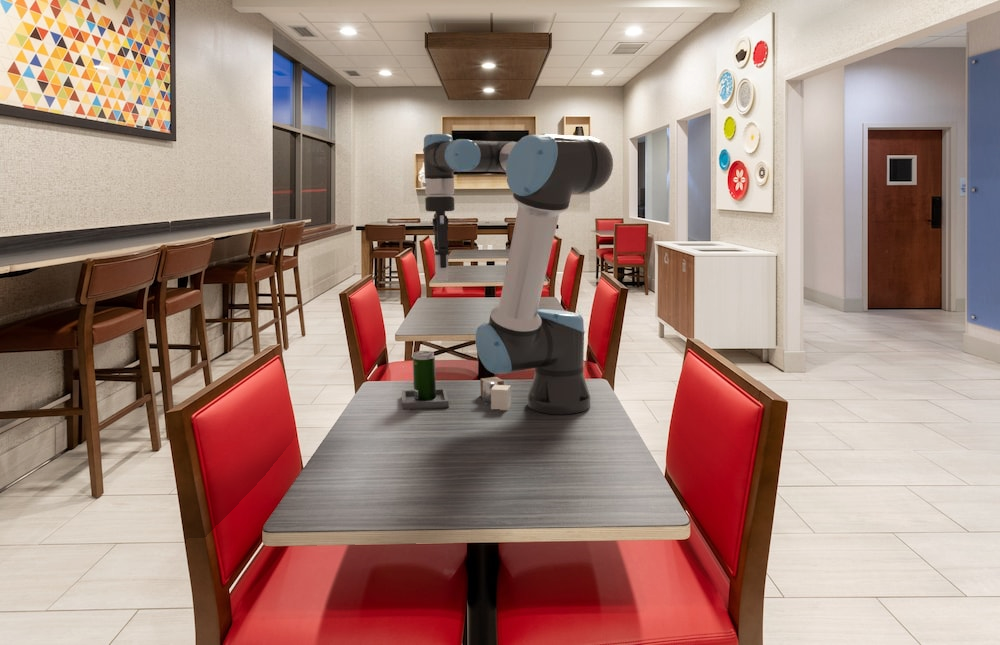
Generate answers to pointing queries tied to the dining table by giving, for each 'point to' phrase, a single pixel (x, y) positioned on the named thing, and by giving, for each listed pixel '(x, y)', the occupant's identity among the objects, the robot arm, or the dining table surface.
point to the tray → (410, 402)
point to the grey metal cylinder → (488, 390)
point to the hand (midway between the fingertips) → (441, 277)
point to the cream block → (501, 397)
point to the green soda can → (424, 376)
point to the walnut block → (500, 382)
